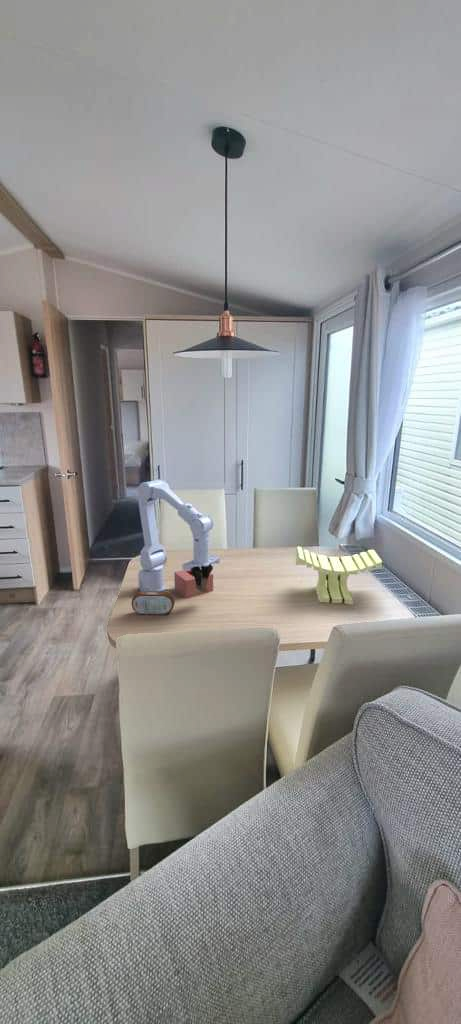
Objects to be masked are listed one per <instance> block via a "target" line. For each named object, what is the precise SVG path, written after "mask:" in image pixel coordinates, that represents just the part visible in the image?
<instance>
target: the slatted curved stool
mask: <svg viewBox="0 0 461 1024" xmlns="http://www.w3.org/2000/svg"><path fill="white" fill-rule="evenodd" d="M295 564H296V566H298V565H299V566H306V568H311V569H312V568H313V570H314V571H317V575H318V576H317V577H318V579H317V582H316V586H315V590H316V589H317V592H318V596H319V599H318V601H319V600H320V602H329V603H331V604H335V603H342V602H344V603H353V602H354V601H352V600H353V599H352V596H350V595H351V594H350V591H349V589H348V578H349V576H350V575H358V571H359V573H366V570H367V571H374V569H382V567H383V560H382V558H380V556H379V555H378V553H377V552H376V551H375V549H368V550H367V551H362V552H359V553H355V554H352V556H351V555H348V556H347V555H346V556H328V557H327V555H322V554H317V555H316V553H315V552H313V551H310V552H309V550H307V549H304V548H302V546H296V552H295ZM374 567H375V568H374ZM327 589H328V590H327ZM317 592H316V593H317ZM328 592H329V593H328ZM340 593H341V594H340ZM329 595H330V596H329ZM318 596H317V597H318ZM341 596H342V597H341ZM344 603H342V604H344ZM352 605H355V602H354V603H353V604H352Z"/></svg>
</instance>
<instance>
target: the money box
mask: <svg viewBox="0 0 461 1024" xmlns="http://www.w3.org/2000/svg"><path fill="white" fill-rule="evenodd" d="M199 568H200V569H201V566H200V567H199ZM173 573H174V589H175V590H176V591H177V592H178V593H180V594H181V595H182V596H183V597H184V598H191V597H195V596H198V595H202V594H206V593H210V592H213V591H214V574H213V573H212V572H211V573H210V575H209V577H208V580H207V592H203V593H202V592H201V591H200V590H198V589H197V588H196V581H195V577H194V575H193V573H192V571H191V569H188V570H186V571H185V570H183V569H182V570H178V571H174V572H173ZM201 575H202V574H201Z"/></svg>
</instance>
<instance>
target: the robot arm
mask: <svg viewBox="0 0 461 1024" xmlns="http://www.w3.org/2000/svg"><path fill="white" fill-rule="evenodd" d="M136 489H137V496H138V507H139V508H138V509H139V515H140V523H141V528H142V534H143V541H144V546H143V547H142V548H141V550H140V558H139V563H140V566H141V568H142V569H141V570H139V571H138V574H137V575H138V588H137V589H139V590H140V591H167V590H168V588H167V586H165V585H164V567H165V564H166V562H168V556H167V553H166V550H165V547H164V545H162V544H161V543H160V541H159V535H158V527H157V521H156V515H155V514H156V513H155V507H154V504H155V503H156V502H157V500H159V499H160V500H164V501H165V503H167V504H168V505H170V506H172V507H173V509H175V510H177V515H178V517H180V518H181V519H182V520H183V521H184V522H185V523H186V524H188V525H189V529H190V531H191V533H192V538H193V559H192V560H190V561H187V562H185V563H184V562H183V563H182V570H185V571H186V570H188V569H191V571H192V573H193V575H194V577H195V581H196V585H198V586H200V585H201V574H202V576H204V577H205V578H207V580H208V577H209V575H210V573H212V571H213V569H214V566H213V564H220V561H221V560H220V559H221V558H220V557H218V556H213V557H210V542H211V541H210V537H211V536H210V534H211V533H210V531H211V530H212V529H213V526H214V521H213V520H212V518H211V517H210V516H209V515H205V514H202V513H201V512H200V511H198V510H197V509H196V508H195V507H194V505H193V504H192V503H184V502H183V501H182V500H181V499H180V498H179V497H178V495H176V494H175V492H173V490H171V489H170V485H169V484H168V483H167V482H166V481H165V480H164V479H163V478H159V479H155V480H151V481H144V482H141V483H140V484H139V486H138V487H137V488H136ZM200 566H201V569H200V568H199V567H200Z"/></svg>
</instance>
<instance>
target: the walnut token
mask: <svg viewBox="0 0 461 1024" xmlns="http://www.w3.org/2000/svg"><path fill="white" fill-rule="evenodd" d="M196 588H197V589H198V590H200V591H201V592H202V593H203V592H206V593H208V592H207V578H205V577H204V576H202V575H201V585H200V586H198V585H196ZM203 594H204V593H203Z"/></svg>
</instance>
